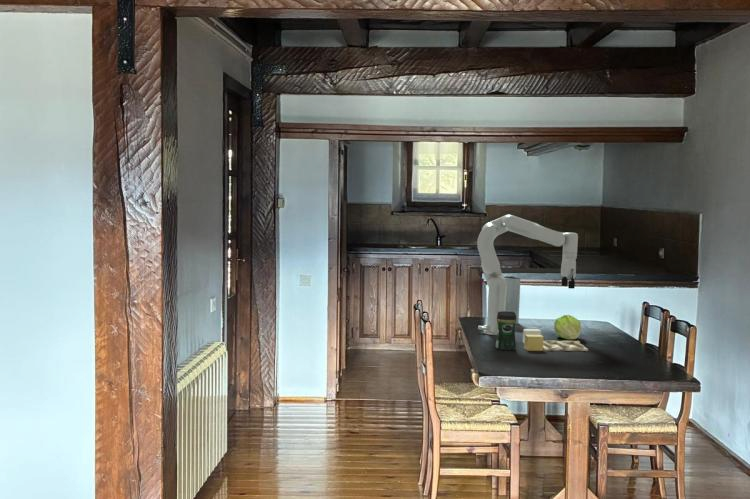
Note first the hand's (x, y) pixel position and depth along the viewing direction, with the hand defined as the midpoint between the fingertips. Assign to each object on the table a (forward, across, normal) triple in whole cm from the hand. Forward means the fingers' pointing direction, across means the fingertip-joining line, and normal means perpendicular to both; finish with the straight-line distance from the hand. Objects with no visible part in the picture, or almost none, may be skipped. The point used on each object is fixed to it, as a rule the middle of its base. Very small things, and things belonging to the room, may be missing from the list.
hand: (567, 287), depth 411 cm
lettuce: (+27, +8, -1) cm, 28 cm away
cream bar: (+27, +19, -25) cm, 41 cm away
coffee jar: (+27, +33, -44) cm, 61 cm away
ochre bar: (+27, +34, -30) cm, 53 cm away
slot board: (+27, +30, -14) cm, 43 cm away
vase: (+27, -41, -18) cm, 52 cm away
